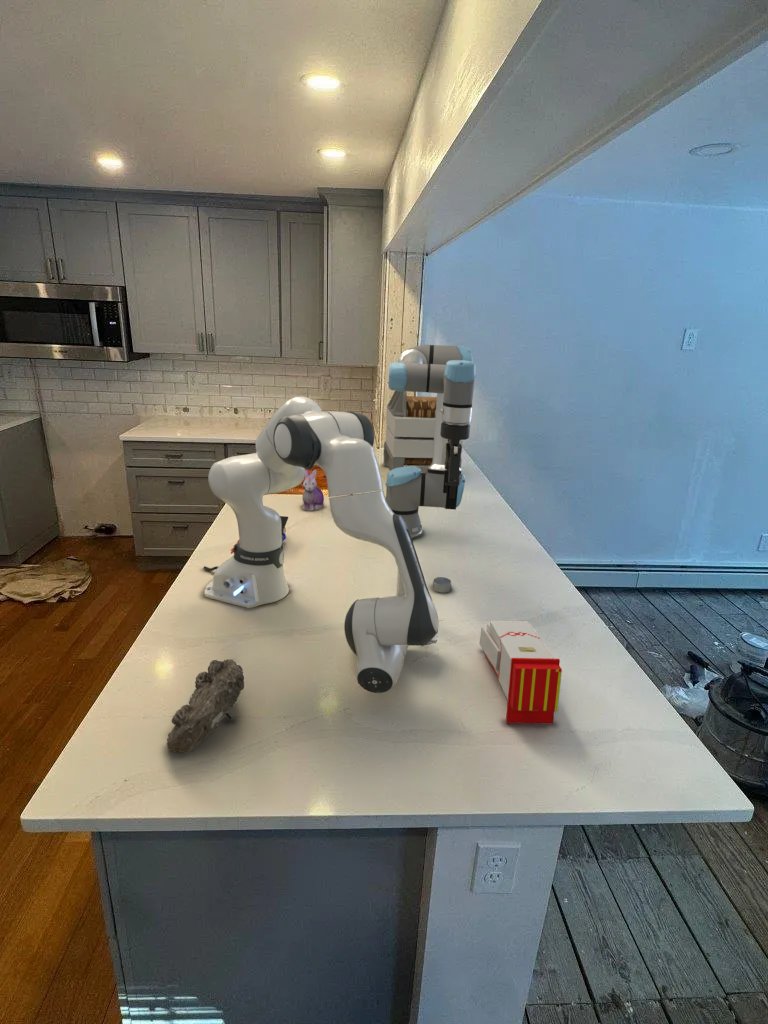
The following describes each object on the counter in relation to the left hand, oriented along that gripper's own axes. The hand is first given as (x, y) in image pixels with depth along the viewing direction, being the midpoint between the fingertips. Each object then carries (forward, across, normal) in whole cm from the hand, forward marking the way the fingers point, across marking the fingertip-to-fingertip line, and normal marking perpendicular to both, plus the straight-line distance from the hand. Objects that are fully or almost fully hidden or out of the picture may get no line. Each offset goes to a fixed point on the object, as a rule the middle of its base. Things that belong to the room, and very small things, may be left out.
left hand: (399, 608), depth 137 cm
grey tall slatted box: (+144, +13, +6) cm, 145 cm away
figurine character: (+43, +48, +6) cm, 65 cm away
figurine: (+81, +47, +6) cm, 94 cm away
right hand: (+26, -8, -20) cm, 34 cm away
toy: (-13, -27, +7) cm, 31 cm away
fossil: (-39, +30, +7) cm, 49 cm away
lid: (+26, -8, +4) cm, 28 cm away
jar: (+11, 0, +7) cm, 12 cm away
